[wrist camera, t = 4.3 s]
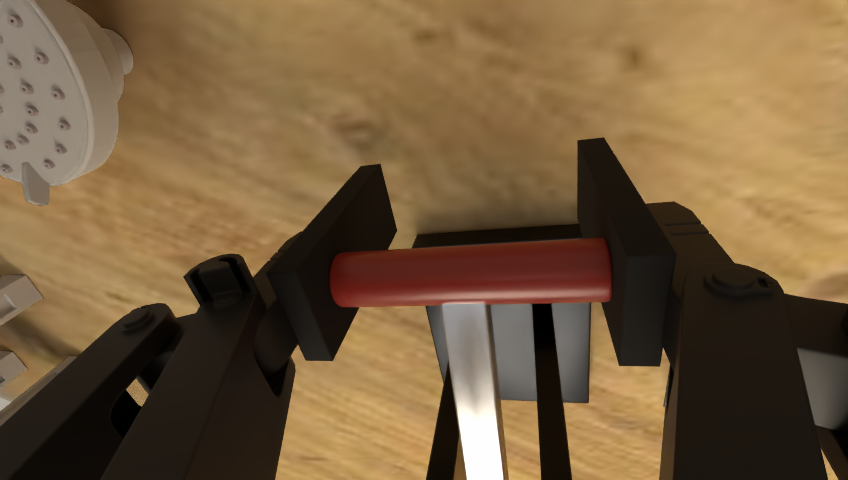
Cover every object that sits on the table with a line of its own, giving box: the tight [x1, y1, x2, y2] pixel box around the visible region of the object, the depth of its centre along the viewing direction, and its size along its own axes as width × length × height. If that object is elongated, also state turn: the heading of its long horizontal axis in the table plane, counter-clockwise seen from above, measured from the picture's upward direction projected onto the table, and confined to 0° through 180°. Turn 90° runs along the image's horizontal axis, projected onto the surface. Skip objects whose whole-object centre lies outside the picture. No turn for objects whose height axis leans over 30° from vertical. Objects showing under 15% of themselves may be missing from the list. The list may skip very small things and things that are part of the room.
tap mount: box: [412, 224, 591, 480], centre depth 18 cm, size 12×9×15 cm
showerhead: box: [0, 0, 134, 206], centre depth 17 cm, size 9×7×10 cm
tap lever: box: [329, 237, 613, 480], centre depth 12 cm, size 13×6×2 cm, turn 11°
